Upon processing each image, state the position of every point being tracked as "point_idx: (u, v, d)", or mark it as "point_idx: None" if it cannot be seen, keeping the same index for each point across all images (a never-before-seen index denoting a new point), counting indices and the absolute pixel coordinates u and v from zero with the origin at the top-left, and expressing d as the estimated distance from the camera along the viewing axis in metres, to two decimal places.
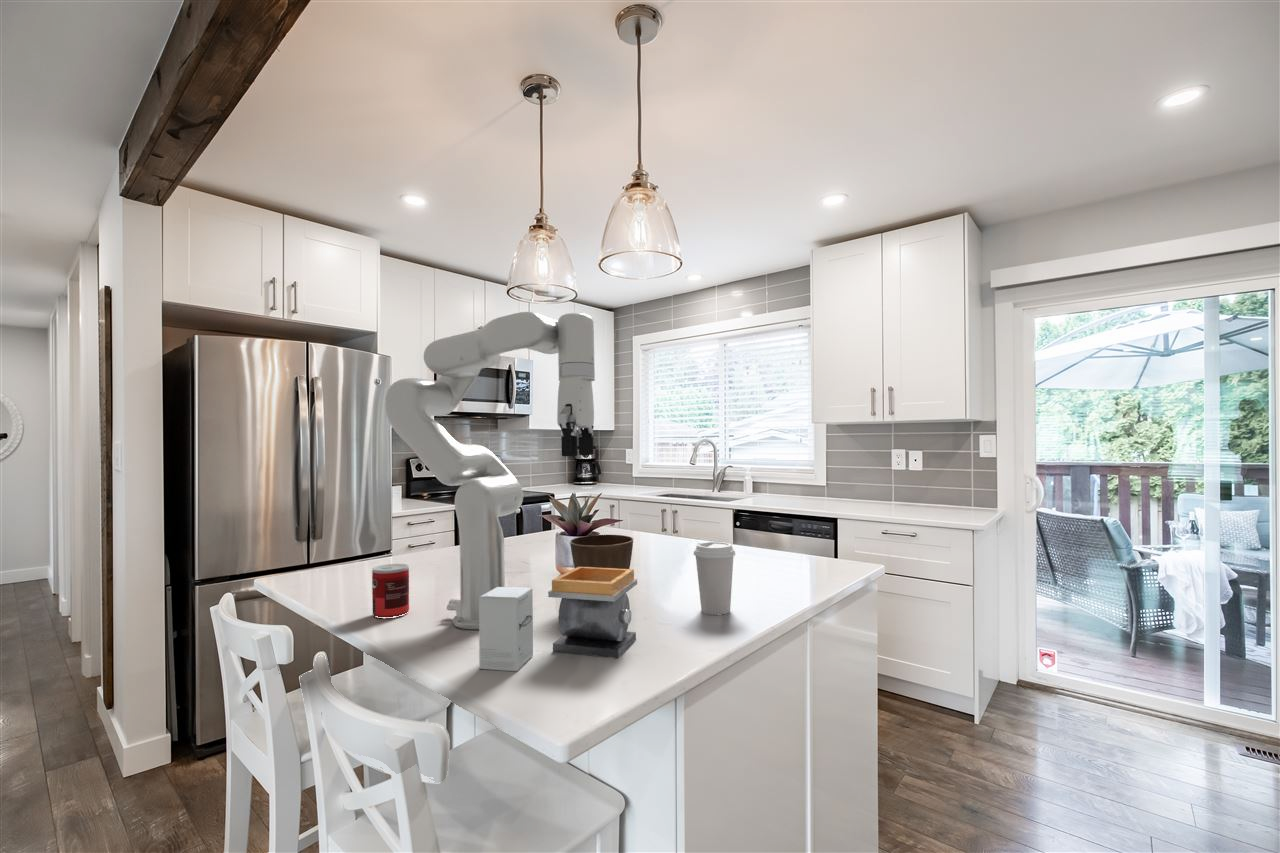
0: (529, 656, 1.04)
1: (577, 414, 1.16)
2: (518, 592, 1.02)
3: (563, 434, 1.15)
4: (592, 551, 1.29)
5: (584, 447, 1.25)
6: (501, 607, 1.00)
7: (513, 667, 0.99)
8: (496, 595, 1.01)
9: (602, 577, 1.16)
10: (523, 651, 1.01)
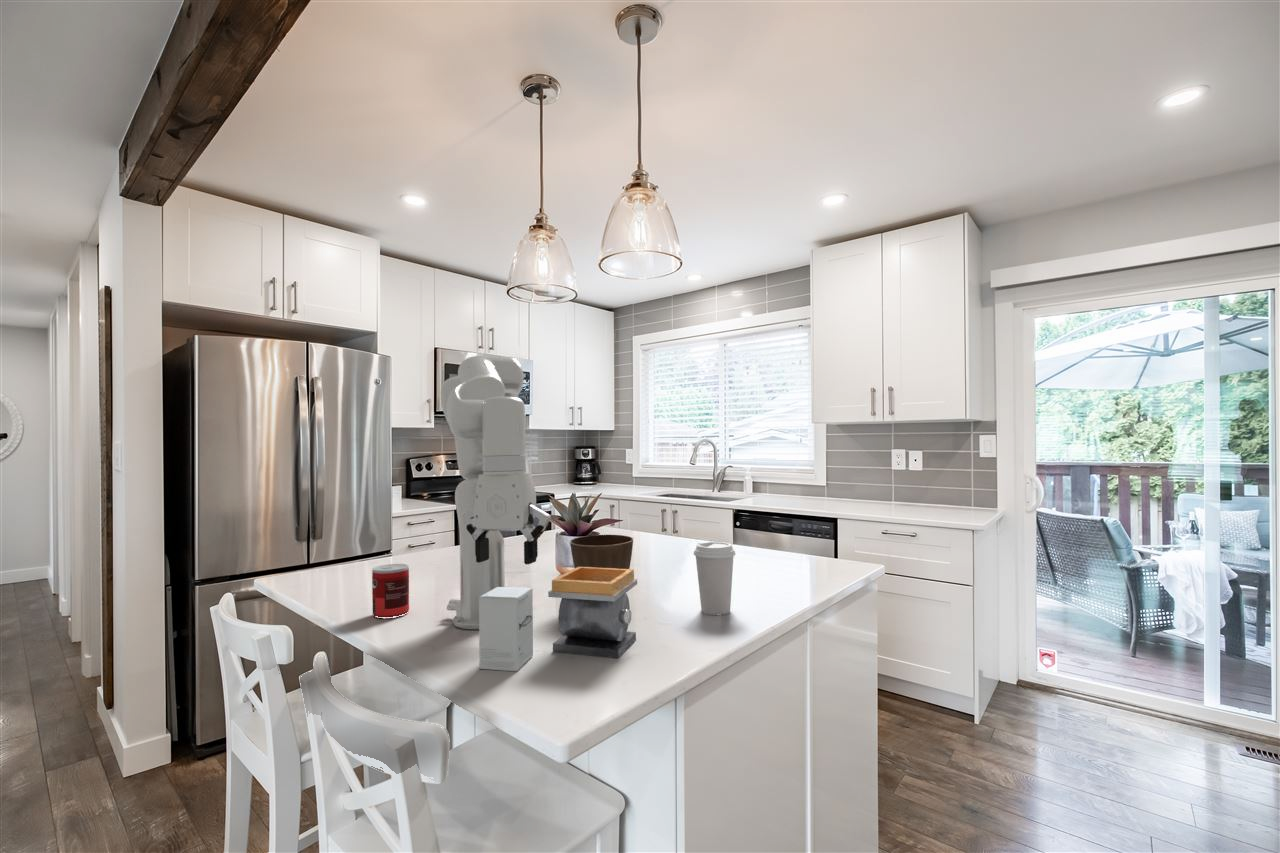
0: (529, 656, 1.04)
1: None
2: (518, 592, 1.02)
3: (534, 539, 1.01)
4: (592, 551, 1.29)
5: (483, 552, 1.04)
6: (501, 607, 1.00)
7: (513, 667, 0.99)
8: (496, 595, 1.01)
9: (602, 577, 1.16)
10: (523, 651, 1.01)
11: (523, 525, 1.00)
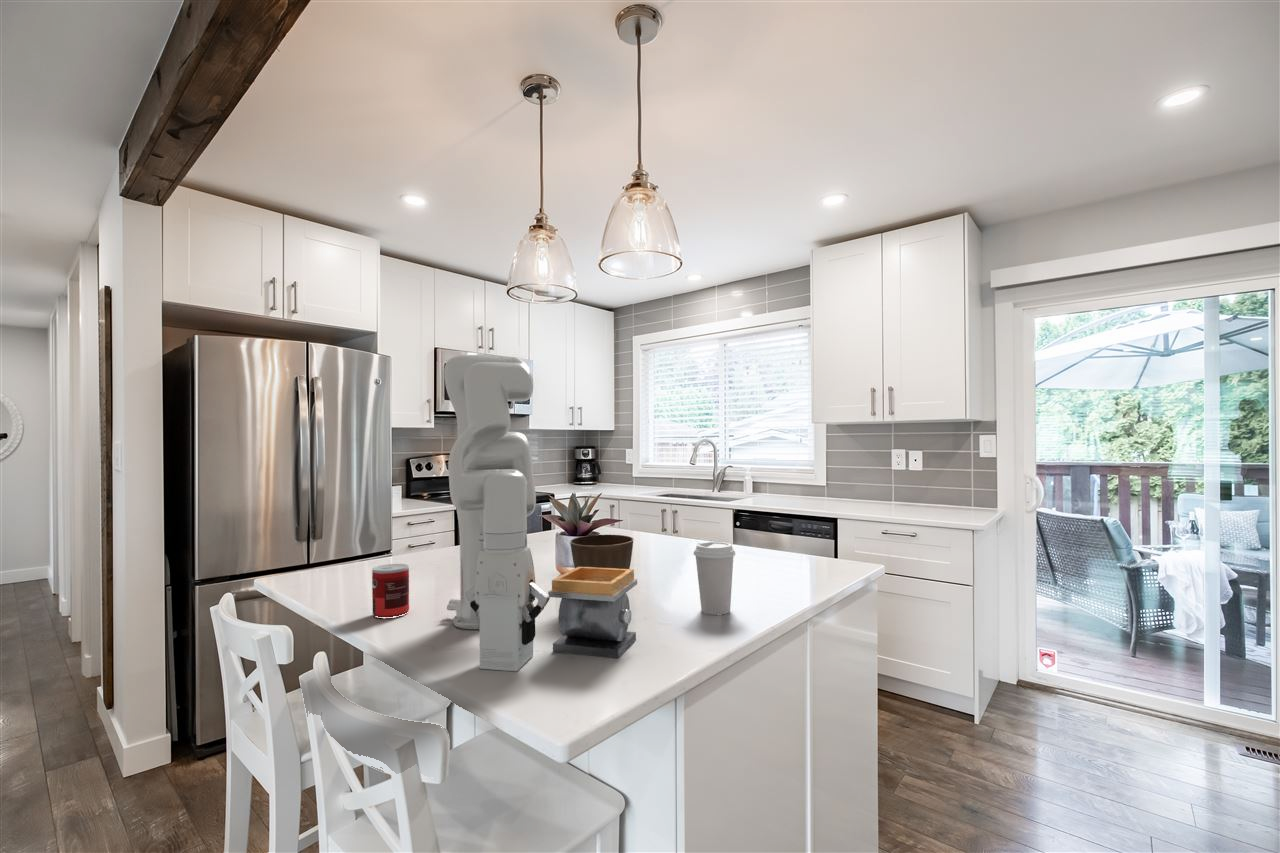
0: (529, 656, 1.04)
1: None
2: None
3: (532, 619, 1.01)
4: (592, 551, 1.29)
5: None
6: (501, 607, 1.00)
7: (513, 667, 0.99)
8: (496, 595, 1.01)
9: (602, 577, 1.16)
10: (523, 651, 1.01)
11: (524, 604, 1.00)
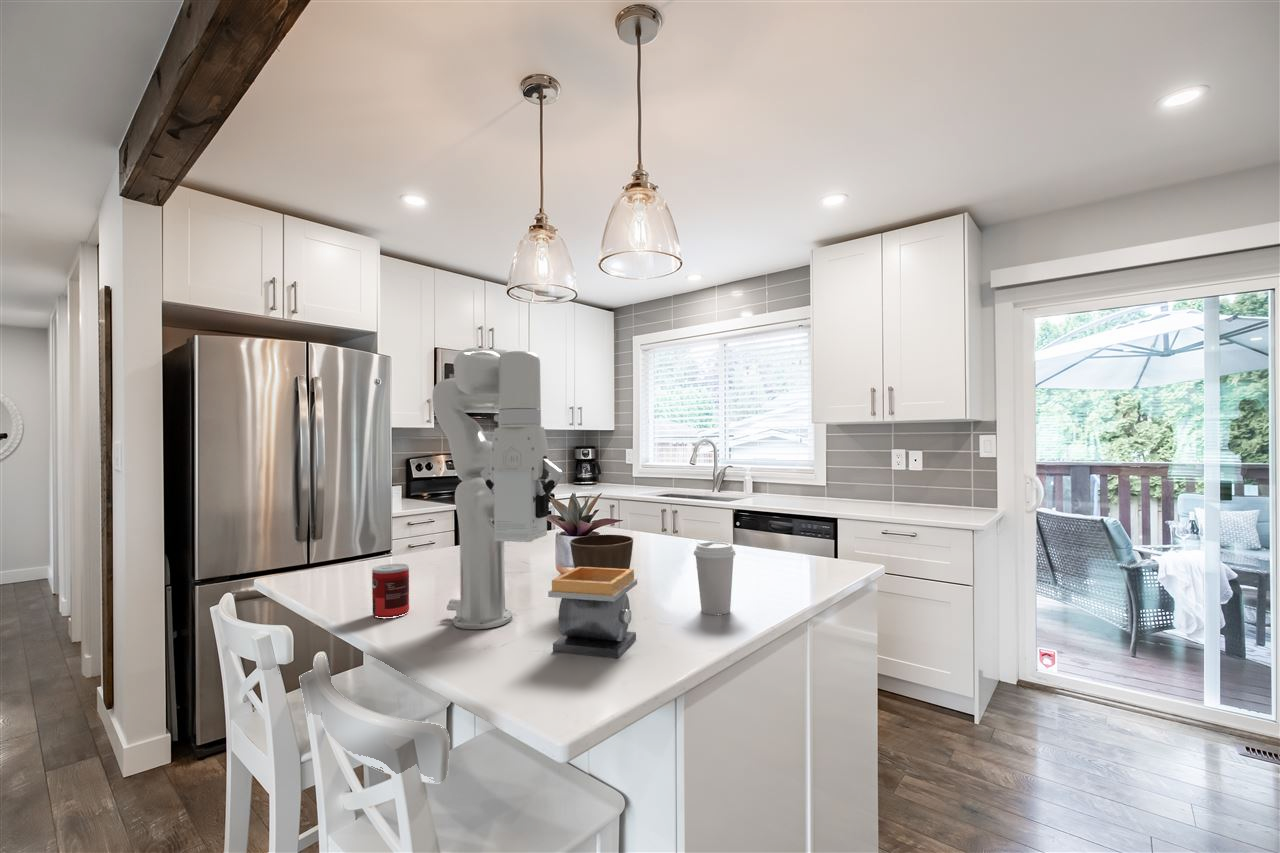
0: (543, 533, 1.06)
1: None
2: None
3: (545, 493, 1.03)
4: (592, 551, 1.29)
5: None
6: (515, 480, 1.02)
7: (527, 538, 1.01)
8: None
9: (602, 577, 1.16)
10: (537, 525, 1.03)
11: (538, 477, 1.02)
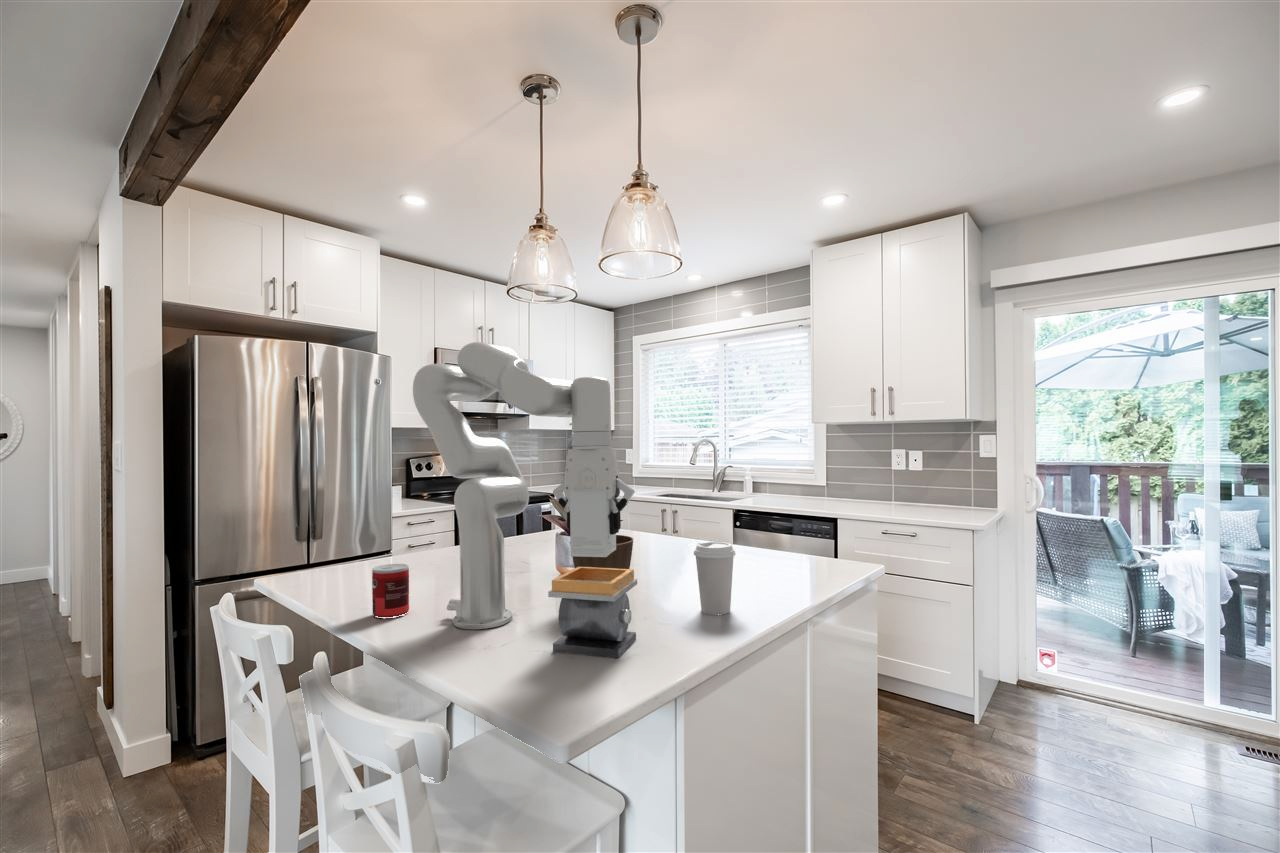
0: (614, 548, 1.12)
1: None
2: None
3: (618, 511, 1.09)
4: None
5: None
6: (591, 498, 1.08)
7: (603, 553, 1.07)
8: None
9: (602, 577, 1.16)
10: (610, 541, 1.09)
11: (612, 496, 1.08)
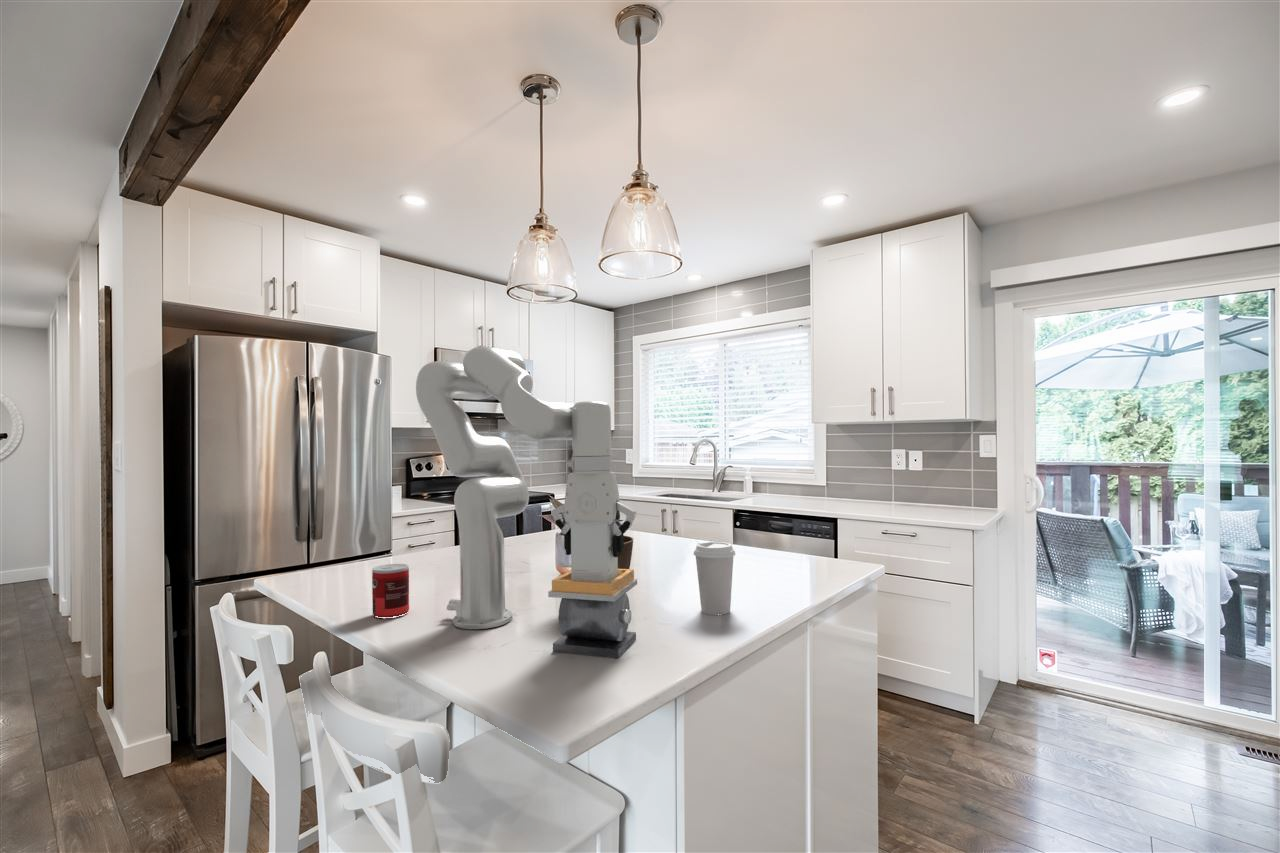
0: None
1: None
2: None
3: (622, 533, 1.09)
4: None
5: None
6: (592, 531, 1.08)
7: None
8: (586, 521, 1.09)
9: None
10: (611, 573, 1.09)
11: (612, 521, 1.08)
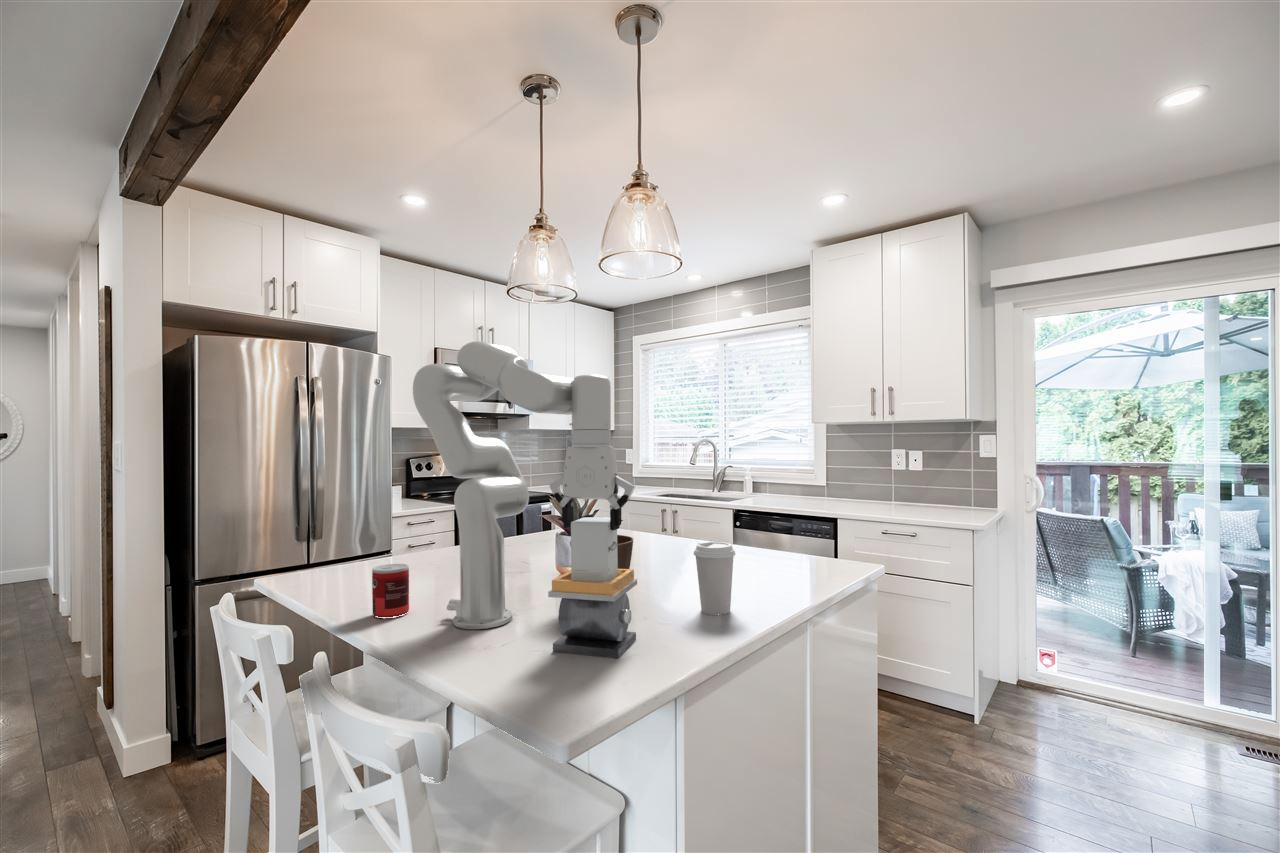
0: None
1: None
2: (606, 519, 1.10)
3: (619, 507, 1.09)
4: None
5: (569, 518, 1.13)
6: (592, 531, 1.08)
7: None
8: (586, 521, 1.09)
9: None
10: (611, 573, 1.09)
11: (610, 494, 1.08)
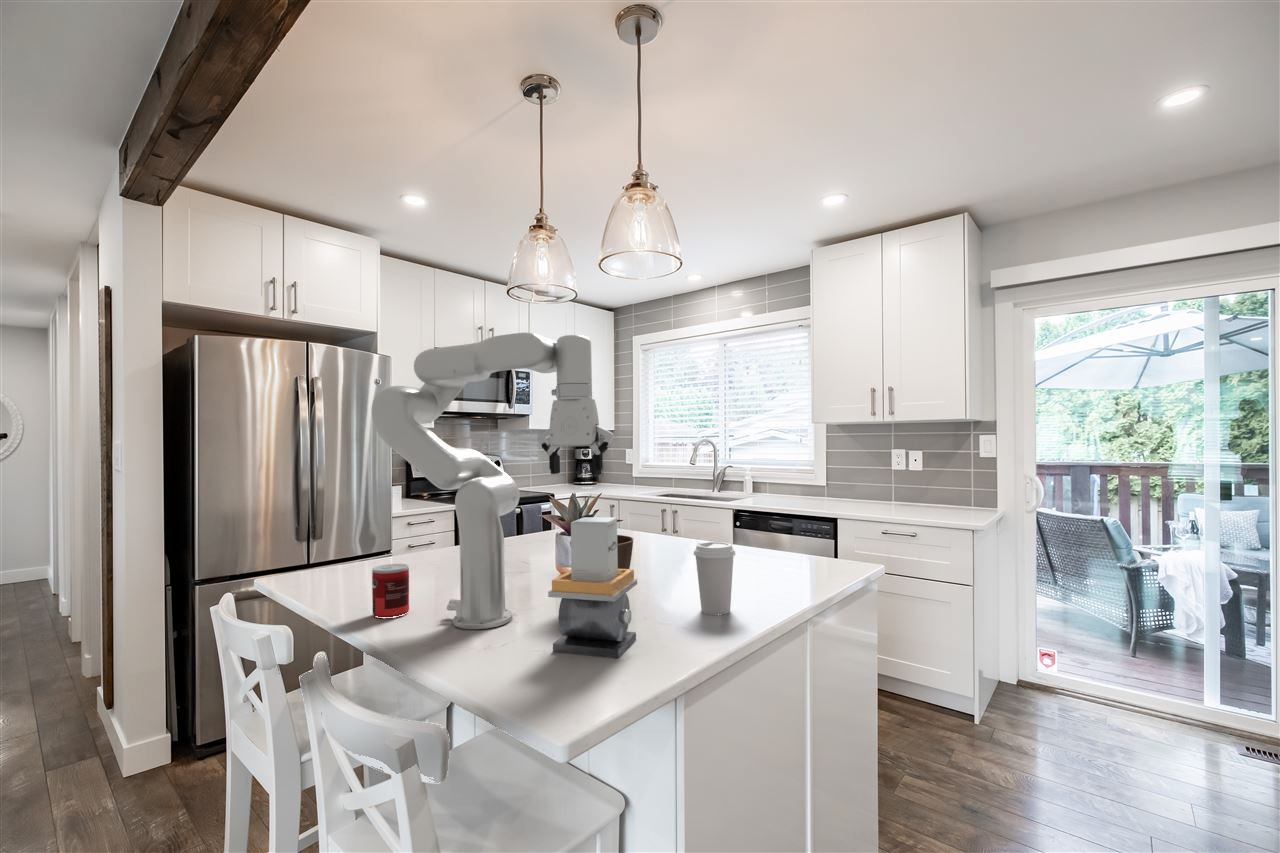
0: None
1: None
2: (606, 519, 1.10)
3: (600, 453, 1.21)
4: None
5: (556, 466, 1.25)
6: (592, 531, 1.08)
7: None
8: (586, 521, 1.09)
9: None
10: (611, 573, 1.09)
11: (592, 441, 1.20)
